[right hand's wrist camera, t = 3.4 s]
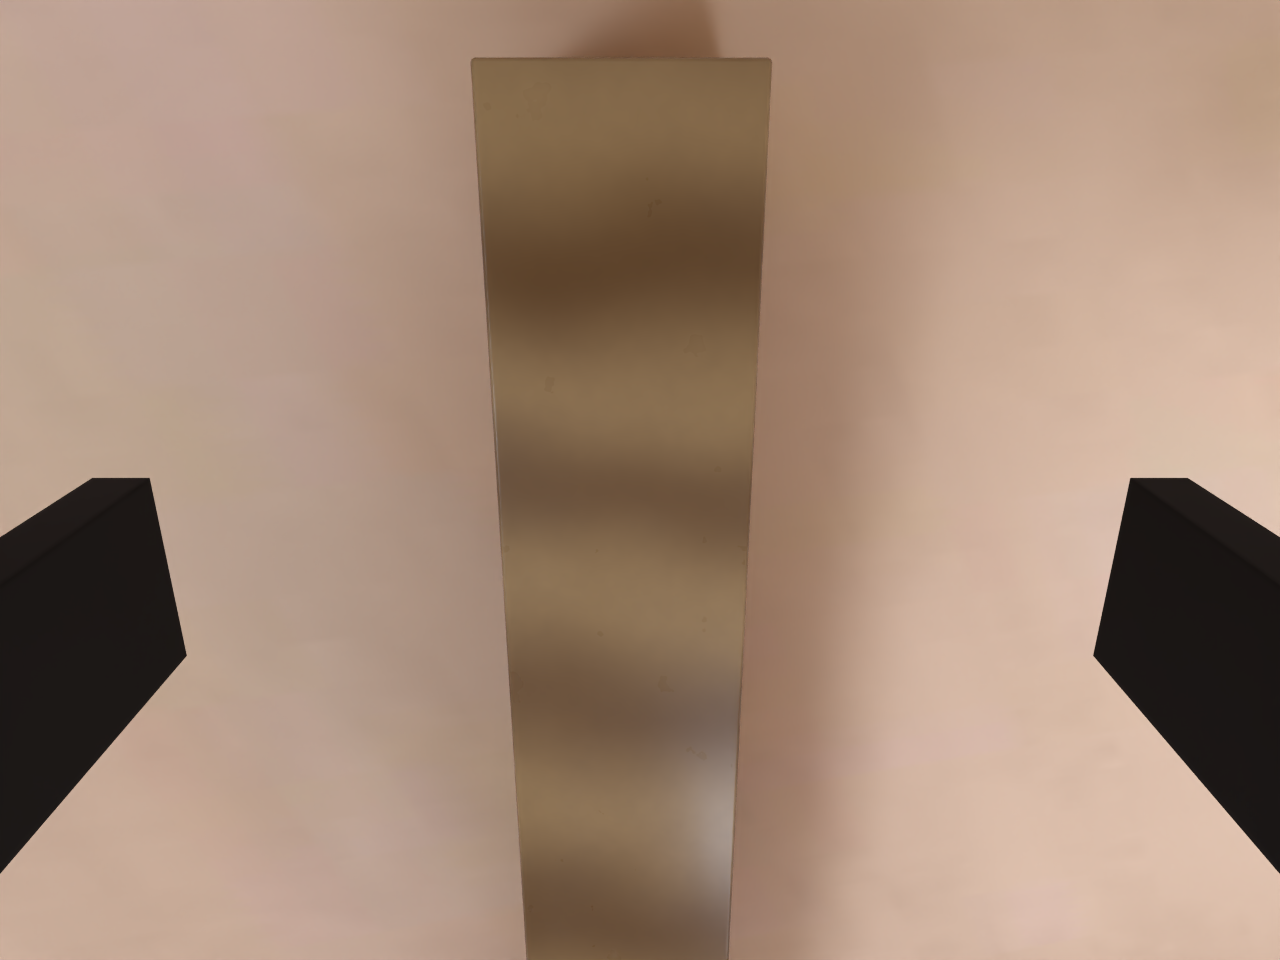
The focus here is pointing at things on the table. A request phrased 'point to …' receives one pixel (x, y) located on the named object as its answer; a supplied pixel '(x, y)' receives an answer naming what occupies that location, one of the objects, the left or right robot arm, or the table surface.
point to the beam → (624, 479)
